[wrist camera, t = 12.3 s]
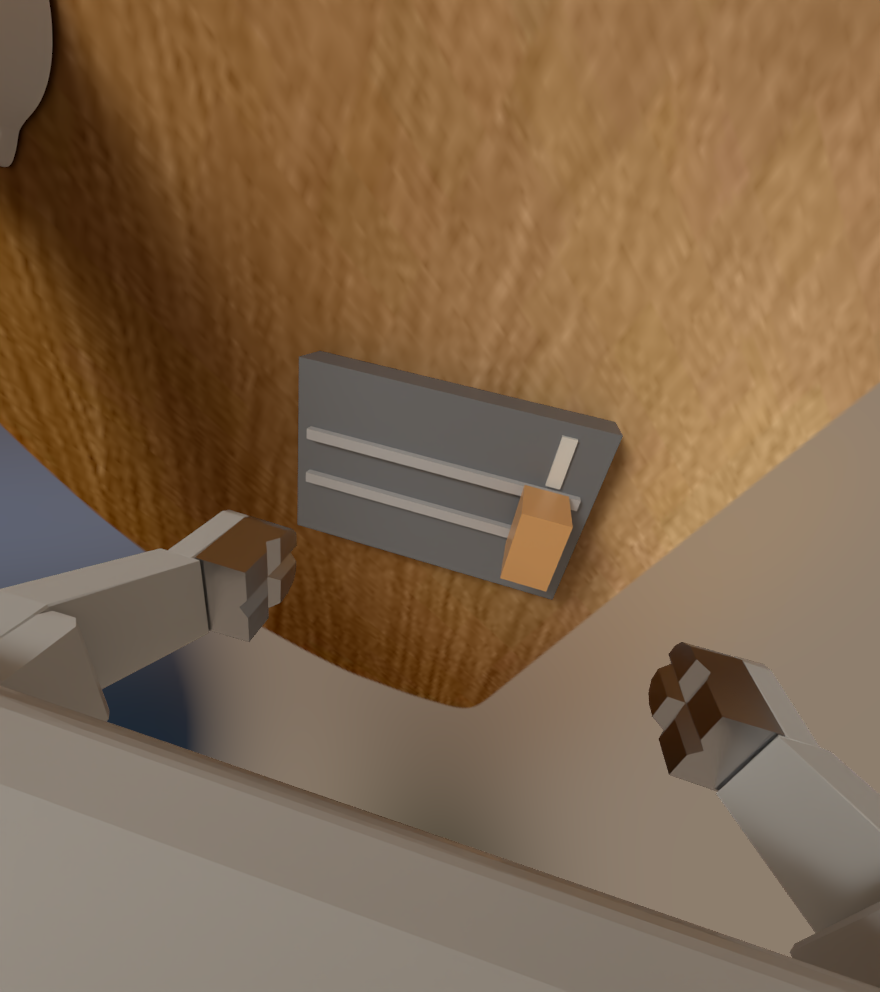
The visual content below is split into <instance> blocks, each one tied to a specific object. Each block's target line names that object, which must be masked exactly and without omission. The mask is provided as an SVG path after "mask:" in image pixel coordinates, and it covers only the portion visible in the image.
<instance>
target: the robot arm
mask: <svg viewBox="0 0 880 992" xmlns="http://www.w3.org/2000/svg"><path fill="white" fill-rule="evenodd" d="M51 60H52V21H51V10H50V3H49V0H0V166H2V167H8V166H10V165H11V163H12V161H13V159H14V156H15V152H16V147H17V141H18V135H19V130H20V129H21V127H22V125H23V124H24V122H25V121H26V120H27V119H28V118H29V116H30V115H31V114H32V113H33V112H34V111H35V109H36V108H37V106H38V105H39V103H40V101H41V99H42V97H43V94H44V92H45V89H46V86H47V83H48V79H49V74H50V68H51ZM296 546H297V541H296V532H295V531H294V530H293V529H291V528H287V527H284V526H281V525H278V524H275V523H272V522H268V521H265V520H262V519H259V518H256V517H252V516H248V515H245V514H242V513H238V512H235V511H232V510H225V511H222V512H220V513H219V514H217V515H216V516H215V517H213V518H212V519H211V520H209V521H208V522H206V523H205V524H204V525H202V526H201V527H199V528H198V529H197V530H195V531H194V532H193V533H191V534H190V535H188V536H187V537H186V538H184V539H183V540H181V541H180V542H179V543H177V544H176V545H174V546H173V547H172V548H170V549H169V550H168V551H167V550H164V549H156V550H152V551H148V552H144V553H141V554H137V555H133V556H129V557H125V558H121V559H117V560H113V561H109V562H105V563H101V564H97V565H93V566H89V567H86V568H82V569H78V570H74V571H70V572H66V573H62V574H58V575H54V576H50V577H46V578H42V579H38V580H34V581H31V582H26V583H22V584H18V585H15V586H11V587H7V588H3V589H0V992H880V794H879V793H877V792H876V791H875V790H874V789H873V788H872V787H870V785H868V784H867V783H866V782H865V781H864V780H863V779H862V778H860V777H859V776H858V775H857V774H856V773H855V772H854V771H852V770H851V769H850V768H849V767H848V766H847V765H846V764H844V763H843V762H842V761H841V760H840V759H839V758H837V757H836V756H835V755H834V754H833V753H832V752H831V751H829V750H826V749H823V748H820V746H819V745H818V743H817V742H816V740H815V739H814V737H813V736H812V734H811V732H810V731H809V729H808V728H807V726H806V724H805V723H804V721H803V720H802V718H801V716H800V715H799V713H798V712H797V710H796V709H795V707H794V705H793V704H792V703H791V701H790V699H789V697H788V696H787V695H786V693H785V691H784V690H783V688H782V686H781V685H780V683H779V682H778V680H777V679H776V677H775V675H774V674H773V672H772V671H771V670H770V669H769V668H768V667H766V666H765V665H764V664H762V663H758V662H754V661H750V660H747V659H743V658H739V657H733V656H730V655H726V654H723V653H719V652H715V651H712V650H709V649H705V648H701V647H698V646H694V645H691V644H687V643H684V642H681V643H679V644H677V645H676V646H675V647H674V648H673V649H672V651H671V652H670V653H669V657H670V661H671V664H669V665H667V666H664V667H662V668H659V669H658V670H657V672H656V673H655V675H654V677H653V678H652V680H651V684H650V689H649V705H650V709H651V713H652V717H653V718H654V719H655V720H656V721H657V723H658V724H659V725H660V726H661V727H662V729H663V732H662V734H661V736H660V738H659V741H660V745H661V748H662V752H663V755H664V759H665V762H666V765H667V769H668V773H669V775H671V776H674V777H677V778H680V779H683V780H686V781H689V782H691V783H694V784H697V785H700V786H703V787H706V788H709V789H711V790H714V791H717V793H716V794H717V796H718V797H719V798H720V800H721V801H722V803H723V804H724V806H725V807H726V808H727V810H728V811H729V812H730V814H731V815H732V817H733V818H734V819H735V821H736V822H737V824H738V825H739V826H740V828H741V829H742V831H743V832H744V833H745V835H746V836H747V837H748V839H749V841H750V842H751V843H752V845H753V846H754V848H755V849H756V850H757V852H758V853H759V855H760V856H761V857H762V859H763V860H764V861H765V863H766V864H767V866H768V867H769V869H770V870H771V871H772V873H773V874H774V876H775V877H776V878H777V880H778V881H779V883H780V884H781V885H782V887H783V888H784V890H785V891H786V892H787V894H788V895H789V897H790V898H791V899H792V901H793V902H794V904H795V905H796V906H797V908H798V909H799V911H800V912H801V913H802V915H803V916H804V917H805V919H806V920H807V922H808V923H809V925H810V926H811V927H812V929H813V930H814V932H815V934H814V935H811V936H810V937H808V938H806V939H803V940H801V941H799V942H798V943H795V944H794V946H793V948H792V949H791V951H790V953H791V956H792V958H791V957H788V956H785V955H782V954H779V953H776V952H774V951H771V950H767V949H765V948H762V947H759V946H756V945H753V944H750V943H747V942H745V941H742V940H739V939H736V938H733V937H730V936H727V935H724V934H721V933H718V932H716V931H713V930H710V929H706V928H704V927H701V926H698V925H695V924H692V923H689V922H687V921H684V920H681V919H678V918H675V917H672V916H669V915H666V914H663V913H660V912H658V911H655V910H652V909H649V908H646V907H643V906H640V905H637V904H634V903H631V902H629V901H625V900H623V899H620V898H617V897H614V896H611V895H608V894H605V893H603V892H599V891H597V890H594V889H591V888H588V887H585V886H582V885H579V884H576V883H574V882H571V881H568V880H565V879H562V878H559V877H556V876H553V875H550V874H547V873H545V872H542V871H539V870H536V869H533V868H530V867H527V866H524V865H521V864H518V863H515V862H513V861H509V860H507V859H504V858H501V857H498V856H495V855H492V854H489V853H487V852H483V851H481V850H478V849H475V848H472V847H469V846H466V845H463V844H460V843H457V842H455V841H452V840H449V839H446V838H443V837H440V836H437V835H434V834H431V833H428V832H425V831H423V830H420V829H417V828H413V827H411V826H408V825H405V824H402V823H399V822H396V821H393V820H390V819H388V818H385V817H382V816H379V815H376V814H373V813H370V812H367V811H364V810H361V809H359V808H356V807H353V806H350V805H347V804H344V803H341V802H338V801H335V800H332V799H329V798H327V797H323V796H321V795H318V794H315V793H312V792H309V791H306V790H303V789H300V788H297V787H294V786H292V785H289V784H286V783H283V782H280V781H277V780H274V779H271V778H268V777H266V776H262V775H260V774H257V773H254V772H251V771H248V770H245V769H242V768H239V767H236V766H233V765H231V764H228V763H225V762H222V761H219V760H216V759H213V758H210V757H207V756H204V755H201V754H199V753H196V752H193V751H190V750H187V749H184V748H181V747H178V746H175V745H172V744H170V743H167V742H163V741H161V740H158V739H155V738H152V737H149V736H146V735H143V734H140V733H138V732H134V731H132V730H129V729H126V728H123V727H120V726H117V725H114V724H111V723H108V722H106V721H107V720H108V718H109V709H108V706H107V703H106V700H105V697H104V695H103V692H102V689H103V688H105V687H107V686H108V685H111V684H112V683H114V682H116V681H118V680H120V679H122V678H124V677H126V676H128V675H130V674H131V673H134V672H135V671H137V670H139V669H141V668H143V667H145V666H147V665H149V664H151V663H153V662H155V661H156V660H158V659H160V658H162V657H164V656H166V655H168V654H170V653H172V652H174V651H176V650H178V649H179V648H181V647H183V646H185V645H187V644H189V643H191V642H193V641H195V640H197V639H199V638H200V637H202V636H204V635H206V634H208V633H209V631H213V632H216V633H220V634H223V635H226V636H230V637H233V638H237V639H241V640H244V641H248V642H250V640H251V639H252V638H253V637H254V635H255V634H256V633H257V632H258V630H259V629H260V628H261V627H262V625H263V624H264V623H265V622H266V620H267V619H268V608H269V607H272V606H274V605H276V604H279V603H281V601H282V600H283V599H284V597H285V596H286V595H287V593H288V592H289V589H290V587H291V585H292V583H293V581H294V577H295V572H296V561H295V559H294V557H293V556H292V554H291V553H290V552H291V551H292V550H293V549H294V548H295V547H296Z"/></svg>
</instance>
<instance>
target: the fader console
mask: <svg viewBox="0 0 880 992" xmlns="http://www.w3.org/2000/svg"><path fill="white" fill-rule="evenodd" d="M622 437H623V435H622V433H621V432H620V430H619V428H618V426H617V424H616V422H613V421H609V420H604V419H600V418H596V417H592V416H588V415H584V414H579V413H575V412H571V411H567V410H563V409H559V408H555V407H550V406H546V405H542V404H538V403H534V402H530V401H526V400H521V399H517V398H513V397H509V396H505V395H501V394H497V393H492V392H488V391H484V390H480V389H476V388H472V387H468V386H463V385H459V384H455V383H451V382H447V381H443V380H439V379H434V378H430V377H426V376H422V375H418V374H414V373H409V372H405V371H401V370H397V369H393V368H389V367H385V366H380V365H376V364H372V363H368V362H364V361H360V360H356V359H351V358H347V357H343V356H339V355H335V354H331V353H327V352H322V351H318V352H314V353H311V354H307V355H303V356H300V357H299V417H298V525H301V526H304V527H308V528H311V529H314V530H318V531H321V532H325V533H328V534H331V535H335V536H338V537H342V538H345V539H348V540H352V541H355V542H359V543H362V544H365V545H369V546H372V547H375V548H379V549H382V550H386V551H389V552H392V553H396V554H399V555H403V556H406V557H409V558H413V559H416V560H419V561H423V562H426V563H430V564H433V565H436V566H440V567H443V568H447V569H450V570H453V571H457V572H460V573H464V574H467V575H470V576H474V577H477V578H480V579H484V580H487V581H491V582H494V583H497V584H501V585H504V586H508V587H511V588H514V589H518V590H521V591H525V592H528V593H531V594H535V595H538V596H541V597H545V598H548V599H553V597H554V595H555V592H556V590H557V588H558V585H559V583H560V581H561V578H562V576H563V574H564V571H565V569H566V567H567V564H568V562H569V560H570V557H571V555H572V553H573V551H574V548H575V546H576V544H577V541H578V539H579V537H580V534H581V532H582V530H583V527H584V525H585V523H586V520H587V518H588V516H589V513H590V511H591V509H592V506H593V504H594V502H595V499H596V497H597V495H598V492H599V490H600V488H601V485H602V483H603V481H604V478H605V476H606V474H607V471H608V469H609V467H610V464H611V462H612V460H613V457H614V455H615V453H616V451H617V448H618V446H619V444H620V441H621V439H622ZM524 485H527V486H531V487H535V488H539V489H542V490H546V491H550V492H554V493H558V494H561V495H565V496H569V501H570V509H571V517H572V525H573V528H572V531H571V533H570V535H569V538H568V540H567V543H566V545H565V547H564V550H563V552H562V555H561V557H560V560H559V562H558V564H557V567H556V569H555V572H554V574H553V576H552V579H551V581H550V584H549V586H548V588H547V591H546V592H545V591H542V590H539V589H535V588H532V587H528V586H525V585H522V584H518V583H515V582H511V581H508V580H505V579H501V578H500V576H501V570H502V563H503V556H504V550H505V544H506V541H507V537H508V534H509V531H510V528H511V525H512V522H513V519H514V516H515V513H516V510H517V506H518V503H519V500H520V497H521V494H522V491H523V488H524Z"/></svg>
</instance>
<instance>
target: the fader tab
mask: <svg viewBox="0 0 880 992" xmlns="http://www.w3.org/2000/svg"><path fill="white" fill-rule="evenodd" d="M572 528H573V525H572V517H571V509H570V501H569V496H565V495H561V494H558V493H554V492H550V491H546V490H542V489H539V488H535V487H531V486H527V485H524V488H523V491H522V494H521V497H520V500H519V503H518V506H517V510H516V513H515V516H514V519H513V522H512V525H511V528H510V531H509V534H508V537H507V541H506V544H505V550H504V556H503V563H502V570H501V576H500V578H501V579H505V580H508V581H511V582H515V583H518V584H522V585H525V586H528V587H532V588H535V589H539V590H542V591H545V592H546V591H547V588H548V586H549V584H550V581H551V579H552V576H553V574H554V572H555V569H556V567H557V564H558V562H559V560H560V557H561V555H562V552H563V550H564V547H565V545H566V543H567V540H568V538H569V535H570V533H571V531H572Z"/></svg>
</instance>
